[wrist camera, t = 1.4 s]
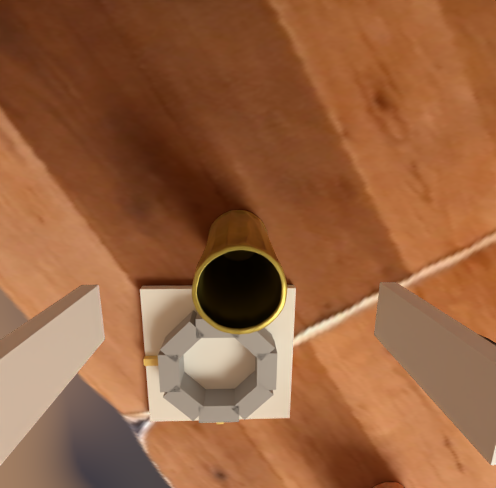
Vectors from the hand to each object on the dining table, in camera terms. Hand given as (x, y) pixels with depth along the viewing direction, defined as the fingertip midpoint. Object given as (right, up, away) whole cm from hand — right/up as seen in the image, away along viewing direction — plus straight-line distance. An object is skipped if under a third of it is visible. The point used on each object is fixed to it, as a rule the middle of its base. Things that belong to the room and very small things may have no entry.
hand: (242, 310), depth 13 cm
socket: (-3, -9, +19) cm, 21 cm away
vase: (-1, +4, +16) cm, 17 cm away
